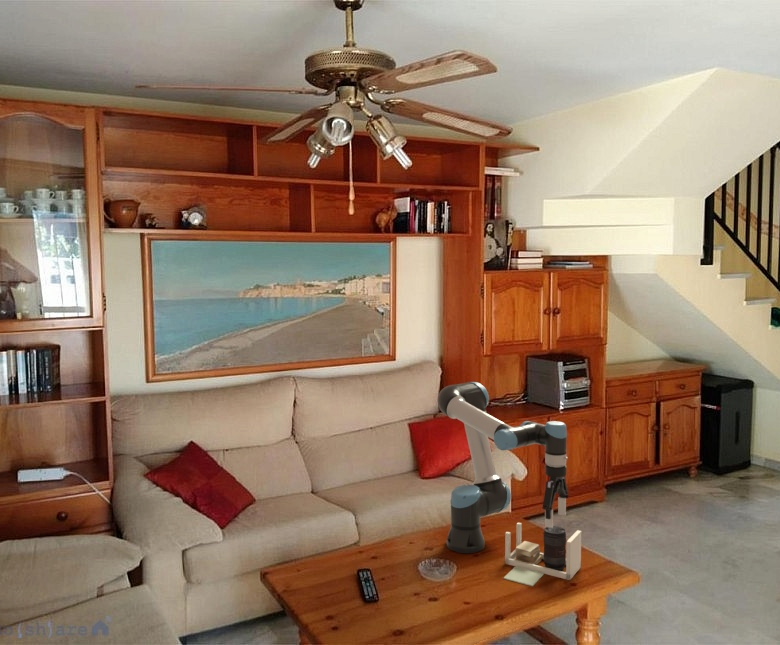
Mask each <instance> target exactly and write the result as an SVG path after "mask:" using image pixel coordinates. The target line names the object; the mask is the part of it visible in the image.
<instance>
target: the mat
mask: <svg viewBox="0 0 780 645" xmlns="http://www.w3.org/2000/svg"><path fill="white" fill-rule="evenodd" d="M544 575H545V574H544V573H541V572H537V571H534V570H530V569H526V568H522V567H518V566H513V568H512V569H511V570H510V571H509V572H508V573H506V575H505V576H504V577H503V580H507V581H510V582H511V581H512V582H515V583H519V584H521V585H525V586H526V585H527V586H529V587H534V586H535V585H536V584H537V582H538V581H539V580H540V579H541V578H542V577H543V576H544Z"/></svg>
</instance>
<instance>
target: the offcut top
mask: <svg viewBox="0 0 780 645" xmlns="http://www.w3.org/2000/svg"><path fill="white" fill-rule="evenodd" d="M515 549H516V553H518V554H522V555H525V556H529V557H531V556H532V555H533V554H535V553H536V552H537V551H538V550H539V549H540V544H538V543H535V542H530V541H527V540H524V541H522V543H521V544H520V545H519V546H517V547H515Z"/></svg>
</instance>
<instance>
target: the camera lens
mask: <svg viewBox="0 0 780 645" xmlns="http://www.w3.org/2000/svg"><path fill="white" fill-rule="evenodd" d="M543 529H544V530H543V553H544V559H543V564H544V567H546V568H550V569H554V570H558V571H562V572H564V568H565V567H566V565H565V560H566V543H567V533H566V529H565V528H564V527H562V526H557V525H553V528H550V527H544V528H543Z"/></svg>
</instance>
